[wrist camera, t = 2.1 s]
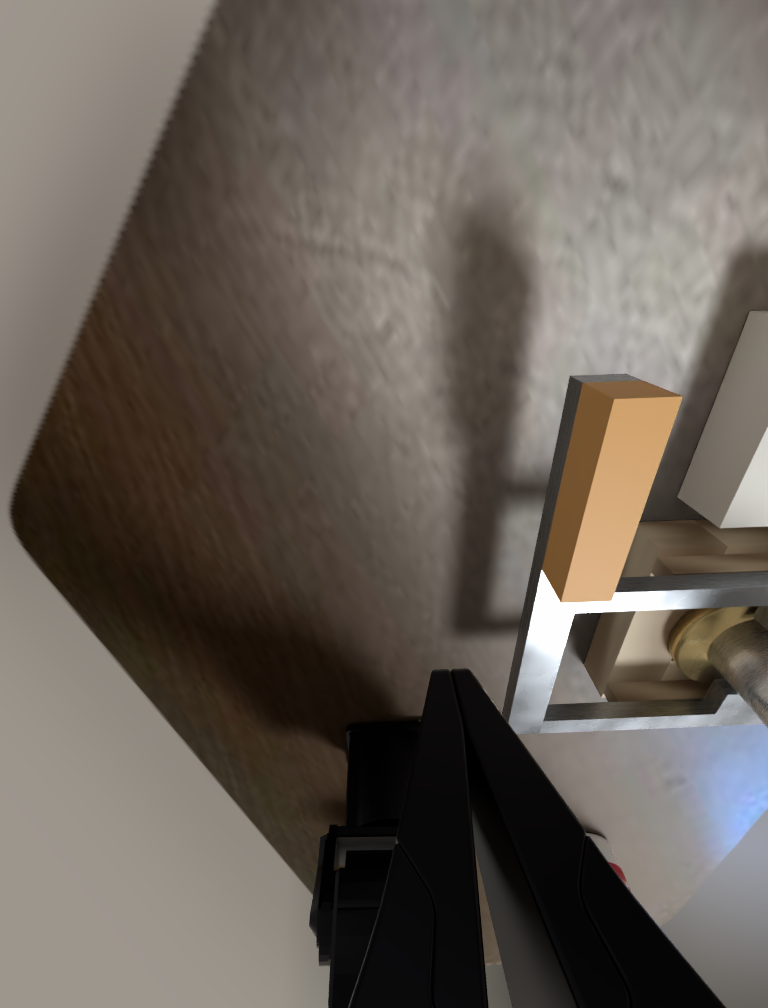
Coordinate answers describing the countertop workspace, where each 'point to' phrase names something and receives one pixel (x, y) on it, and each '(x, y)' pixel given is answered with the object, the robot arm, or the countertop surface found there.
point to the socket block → (645, 634)
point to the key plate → (626, 598)
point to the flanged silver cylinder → (725, 651)
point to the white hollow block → (735, 439)
